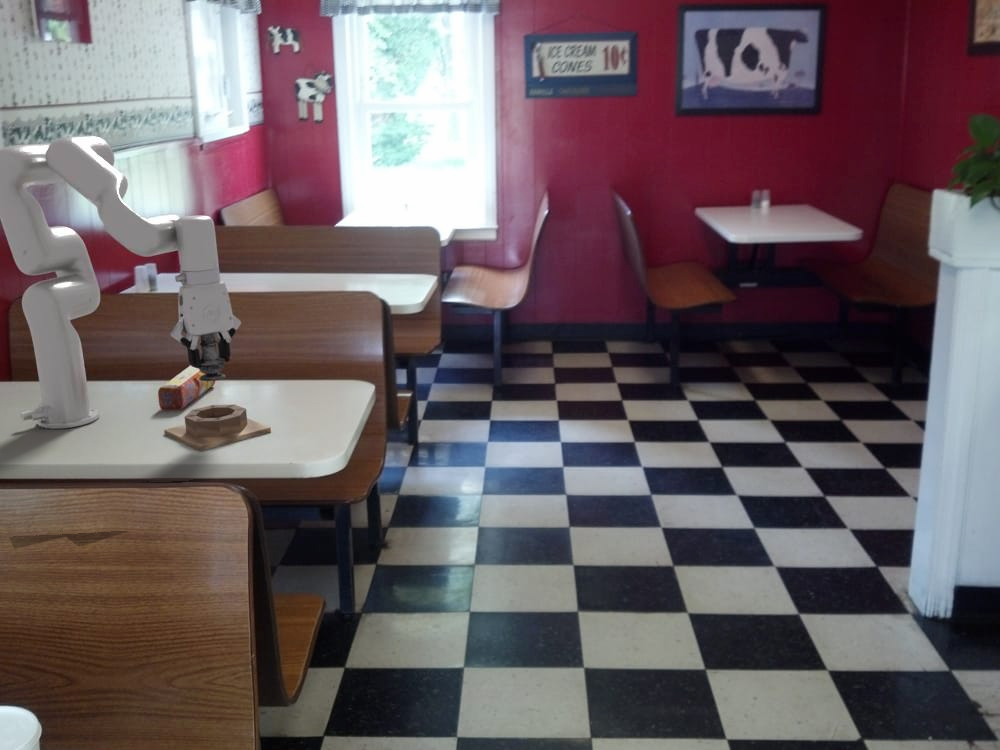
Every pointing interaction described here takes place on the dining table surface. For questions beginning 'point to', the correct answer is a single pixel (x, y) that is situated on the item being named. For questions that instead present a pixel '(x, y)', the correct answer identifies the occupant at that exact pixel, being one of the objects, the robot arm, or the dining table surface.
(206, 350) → the grey upright turned piece
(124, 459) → the dining table surface
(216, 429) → the collar
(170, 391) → the snack package
